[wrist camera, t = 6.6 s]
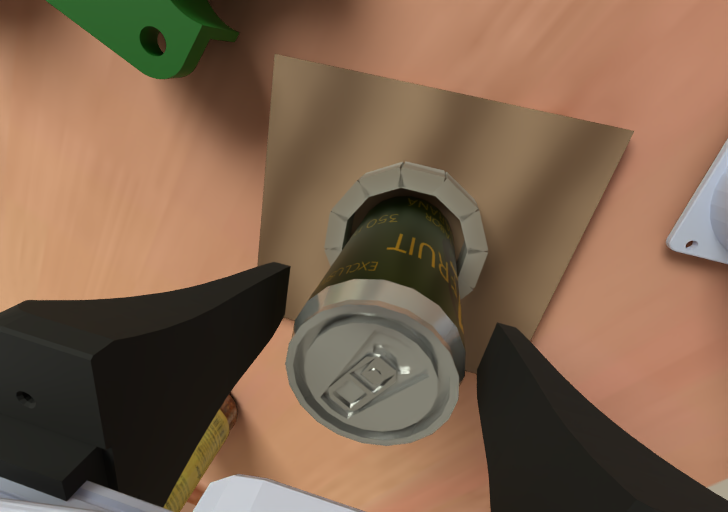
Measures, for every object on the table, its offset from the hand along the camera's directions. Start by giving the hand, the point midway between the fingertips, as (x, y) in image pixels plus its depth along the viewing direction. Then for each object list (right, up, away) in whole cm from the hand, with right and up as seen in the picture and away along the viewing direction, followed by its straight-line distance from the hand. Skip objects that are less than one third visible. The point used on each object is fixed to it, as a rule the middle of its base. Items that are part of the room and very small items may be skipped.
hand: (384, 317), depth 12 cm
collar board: (+2, +4, +10) cm, 10 cm away
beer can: (+2, +3, +9) cm, 10 cm away
